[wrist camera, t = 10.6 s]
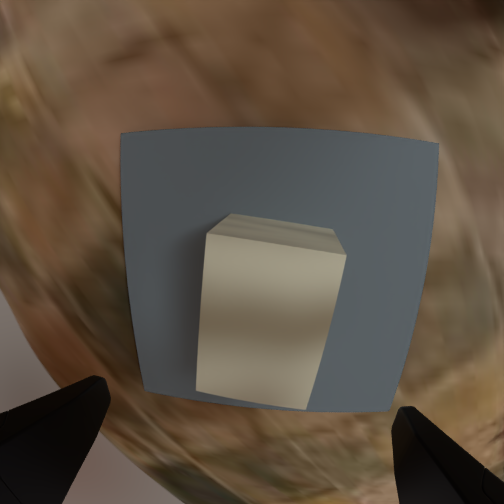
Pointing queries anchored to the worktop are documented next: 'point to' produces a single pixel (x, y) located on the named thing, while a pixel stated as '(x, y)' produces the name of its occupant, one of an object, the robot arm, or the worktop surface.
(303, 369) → the card box
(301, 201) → the rubber mat
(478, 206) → the worktop surface
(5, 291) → the worktop surface
